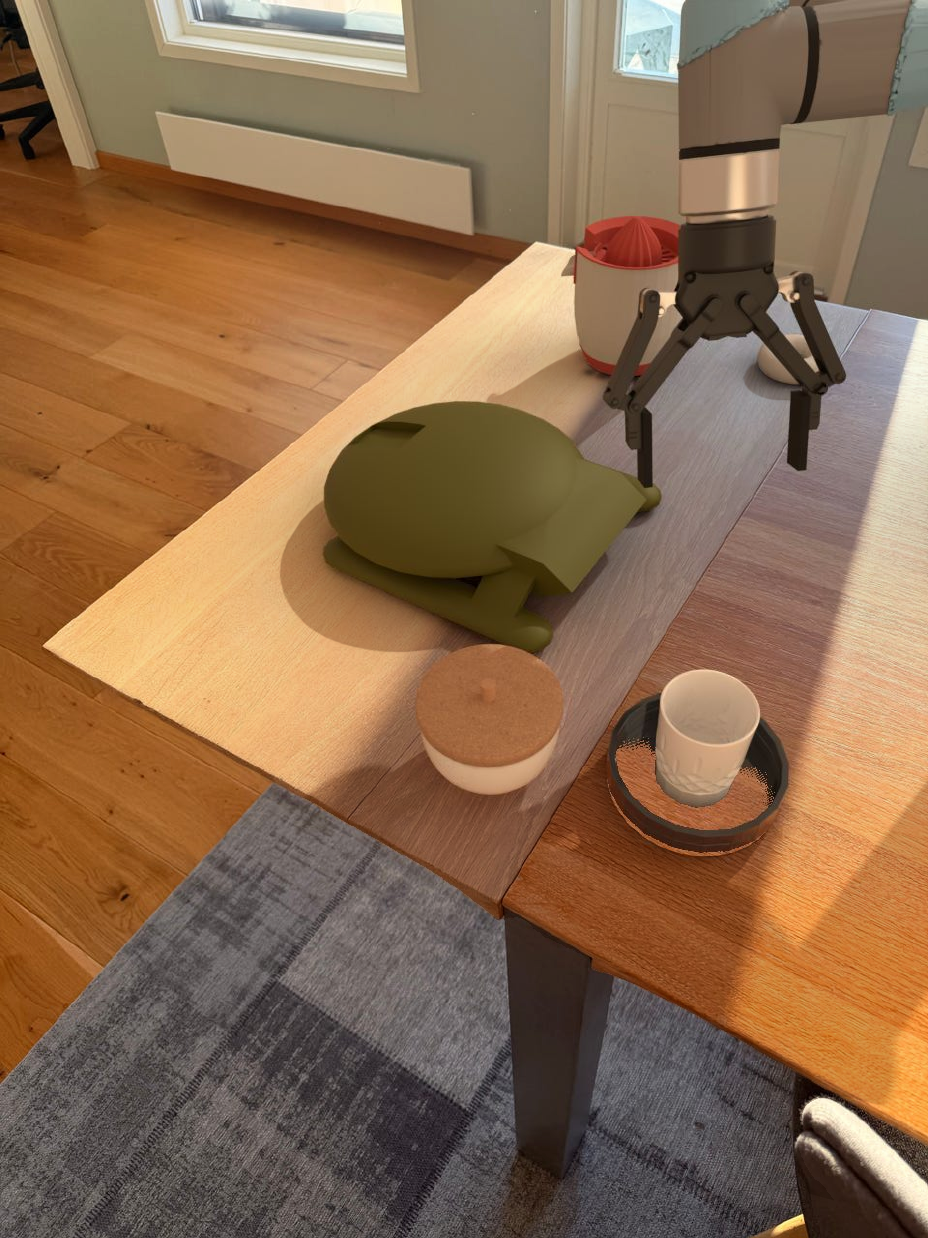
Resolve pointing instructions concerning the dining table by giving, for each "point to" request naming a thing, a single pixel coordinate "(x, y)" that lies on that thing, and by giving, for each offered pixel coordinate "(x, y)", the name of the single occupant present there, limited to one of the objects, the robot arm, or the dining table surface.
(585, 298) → the citrus juicer
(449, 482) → the spaceship
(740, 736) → the white cup
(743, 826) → the dark grey round dish
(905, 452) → the dining table surface
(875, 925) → the dining table surface
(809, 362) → the donut
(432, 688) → the lidded bowl
